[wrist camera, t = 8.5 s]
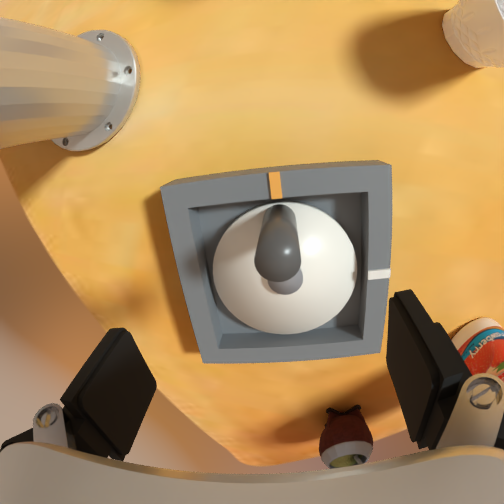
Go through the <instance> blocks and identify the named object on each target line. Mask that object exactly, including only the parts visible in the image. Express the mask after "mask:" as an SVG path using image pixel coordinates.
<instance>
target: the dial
mask: <svg viewBox="0 0 504 504" xmlns="http://www.w3.org/2000/svg"><path fill="white" fill-rule="evenodd" d="M213 278H214V284H215V287H216V290H217V292H218V295H219V297H220V299H221V300H222V302H223V304H224V305H225V306H226V307H227V309H228V310H229V311H230V312H231V313H232V314H233V315H234V316H235V317H236V318H238V319H239V320H240V321H242V322H243V323H245V324H247V325H248V326H251V327H253V328H255V329H257V330H261V331H264V332H268V333H273V334H296V333H302V332H306V331H309V330H312V329H315V328H317V327H319V326H321V325H323V324H325V323H326V322H328V321H329V320H331V319H332V318H333V317H334V316H336V315H337V314H338V313H339V312H340V311H341V310H342V309H343V307H344V306H345V305H346V303H347V302H348V300H349V298H350V296H351V295H352V292H353V290H354V287H355V283H356V279H357V259H356V255H355V251H354V248H353V245H352V243H351V241H350V240H349V238H348V236H347V234H346V232H345V231H344V230H343V228H342V227H341V226H340V224H339V223H338V222H337V221H336V220H335V219H334V218H333V217H331V216H330V215H329V214H327V213H326V212H324V211H323V210H321V209H319V208H317V207H315V206H312V205H309V204H306V203H302V202H298V201H274V202H268V203H265V204H261V205H258V206H256V207H254V208H252V209H250V210H248V211H246V212H245V213H243V214H242V215H240V216H239V217H238V218H237V219H236V220H234V222H233V223H232V224H231V225H230V226H229V227H228V229H227V230H226V231H225V233H224V234H223V236H222V238H221V240H220V242H219V244H218V246H217V249H216V252H215V255H214V260H213Z"/></svg>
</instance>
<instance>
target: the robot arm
mask: <svg viewBox="0 0 504 504" xmlns="http://www.w3.org/2000/svg"><path fill="white" fill-rule="evenodd" d="M131 70H132V72H131ZM130 72H131V73H130ZM139 86H140V65H139V62H138V58H137V55H136V53H135V51H134V49H133V47H132V46H131V45H130V43H129V42H128V41H127V40H126V39H124V38H123V37H121V36H120V35H118V34H115V33H113V32H111V31H107V30H92V31H88V32H85V33H82V34H80V35H78V36H74V35H70V34H67V33H64V32H60V31H57V30H53V29H50V28H46V27H42V26H38V25H34V24H30V23H26V22H21V21H17V20H12V19H7V18H1V17H0V149H3V148H7V147H12V146H17V145H22V144H28V143H33V142H39V141H45V140H52V141H53V142H54V143H55V144H56V145H58V146H59V147H61V148H63V149H66V150H69V151H84V150H89V149H92V148H96V147H98V146H100V145H102V144H104V143H105V142H107V141H108V140H109V139H111V138H112V137H113V136H114V135H116V133H117V132H118V131H119V130H120V129H121V128H122V126H123V125H124V124H125V122H126V121H127V119H128V117H129V116H130V114H131V112H132V110H133V107H134V105H135V103H136V99H137V96H138V92H139ZM111 126H112V128H111ZM386 361H387V367H388V370H389V372H390V375H391V378H392V381H393V384H394V387H395V390H396V393H397V396H398V399H399V402H400V405H401V409H402V412H403V415H404V418H405V422H406V425H407V428H408V432H409V435H410V438H411V441H412V442H415V441H417V444H418V447H419V449H421V448H425V447H428V448H429V450H428V451H423V452H418V453H414V454H410V455H405V456H400V457H395V458H391V459H387V460H382V461H376V462H371V463H366V464H360V465H354V466H348V467H341V468H334V469H326V470H317V471H308V472H297V473H280V474H216V473H201V472H189V471H179V470H171V469H163V468H156V467H150V466H144V465H138V464H133V463H127V462H122V461H123V460H124V458H125V455H126V454H128V453H129V452H130V449H131V447H132V445H133V442H134V440H135V437H136V435H137V433H138V430H139V428H140V425H141V423H142V421H143V418H144V416H145V413H146V411H147V409H148V406H149V404H150V402H151V400H152V397H153V395H154V393H155V390H156V387H157V385H156V380H155V379H154V377H153V375H152V373H151V371H150V370H149V368H148V366H147V364H146V362H145V360H144V358H143V357H142V355H141V353H140V351H139V349H138V347H137V345H136V343H135V341H134V339H133V337H132V335H131V333H130V332H128V331H127V330H126V329H125V328H112V329H110V330H109V331H108V332H107V333H106V335H105V336H104V337H103V339H102V340H101V342H100V343H99V344H98V346H97V347H96V348H95V350H94V351H93V352H92V354H91V355H90V357H89V358H88V359H87V361H86V362H85V364H84V365H83V366H82V368H81V369H80V371H79V372H78V374H77V375H76V377H75V378H74V379H73V381H72V382H71V384H70V385H69V387H68V388H67V390H66V391H65V393H64V394H63V396H62V397H61V399H60V400H61V402H62V403H63V404H64V405H65V406H64V408H63V409H62V407H61V406H60V405H58V404H54V403H53V404H52V403H51V404H48V405H45V406H44V407H42V408H41V409H40V410H39V411H38V412H37V413H36V414H35V416H34V419H33V428H31V429H29V430H27V431H25V432H23V433H21V434H19V435H17V436H15V437H12V438H11V439H9V440H6V441H5V442H4V443H3V444H2V446H1V449H0V504H504V383H503V381H502V380H501V379H500V378H498V377H497V376H495V375H492V374H488V373H480V374H475V375H473V376H472V374H471V372H470V370H469V369H468V367H467V365H466V363H465V362H464V360H463V358H462V357H461V355H460V354H459V352H458V350H457V349H456V347H455V345H454V344H453V342H452V341H451V339H450V337H449V336H448V334H447V333H446V331H445V330H444V328H443V327H442V325H441V324H440V323H438V322H436V323H433V321H432V319H431V318H430V316H429V315H428V313H427V312H426V310H425V309H424V307H423V306H422V304H421V303H420V301H419V300H418V298H417V297H416V295H415V294H414V292H413V291H412V290H411V289H409V290H404V291H400V292H395V293H394V297H392V298H390V299H389V320H388V340H387V354H386ZM108 455H109V456H110V457H111V458H112V459H109V458H107V457H108ZM113 459H115V460H113ZM118 460H119V461H118Z"/></svg>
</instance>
